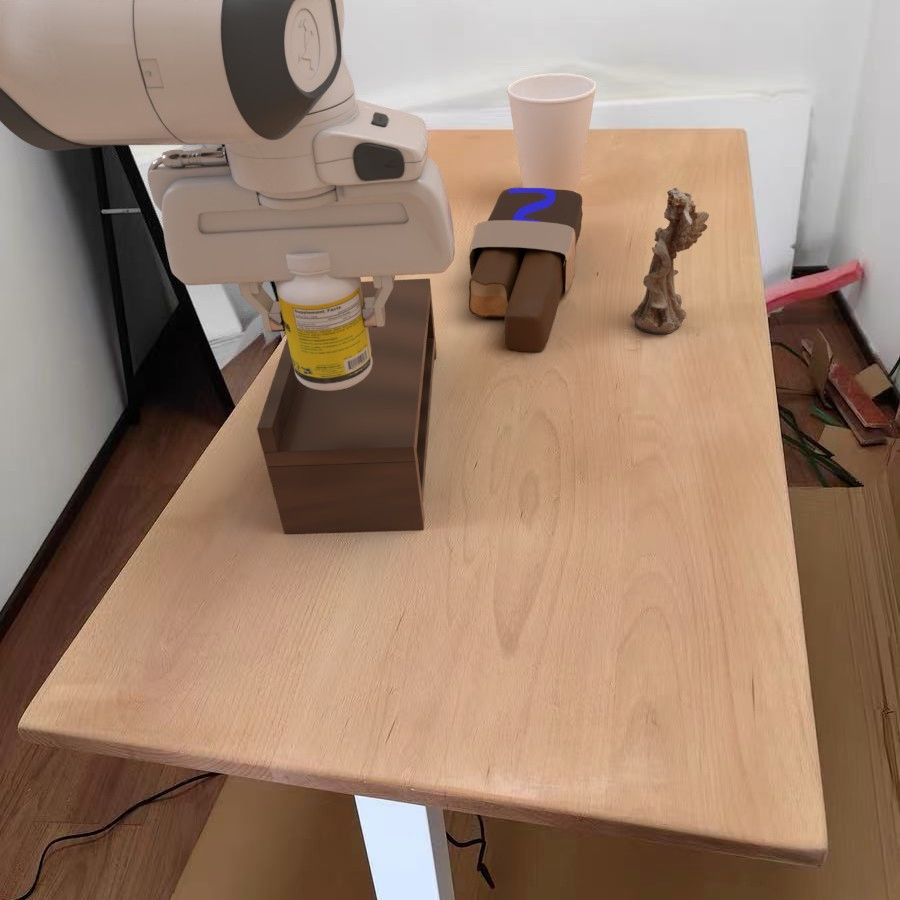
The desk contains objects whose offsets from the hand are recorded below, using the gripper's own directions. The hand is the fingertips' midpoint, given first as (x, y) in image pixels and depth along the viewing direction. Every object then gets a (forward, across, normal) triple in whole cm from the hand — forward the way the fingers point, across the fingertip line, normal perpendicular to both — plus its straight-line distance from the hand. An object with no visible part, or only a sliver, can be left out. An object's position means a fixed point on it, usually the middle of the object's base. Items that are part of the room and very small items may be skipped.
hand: (326, 325), depth 65 cm
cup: (+18, +21, +63) cm, 69 cm away
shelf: (+18, 0, +10) cm, 21 cm away
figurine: (+18, +31, +28) cm, 46 cm away
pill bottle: (+4, 0, 0) cm, 4 cm away
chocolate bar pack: (+18, +16, +38) cm, 45 cm away
